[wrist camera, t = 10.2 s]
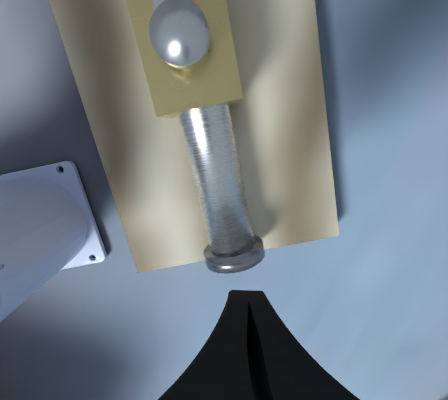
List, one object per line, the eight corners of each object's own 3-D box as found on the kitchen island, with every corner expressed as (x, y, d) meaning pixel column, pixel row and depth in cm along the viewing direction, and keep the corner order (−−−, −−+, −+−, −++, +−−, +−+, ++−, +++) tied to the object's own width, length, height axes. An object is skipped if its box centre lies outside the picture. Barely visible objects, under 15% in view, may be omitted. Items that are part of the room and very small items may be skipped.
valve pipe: (205, 249, 21) (198, 293, 15) (99, -184, 14) (22, -369, 9) (263, 238, 20) (276, 279, 15) (182, -208, 14) (154, -414, 9)
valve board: (143, 263, 22) (137, 272, 21) (13, -152, 15) (-10, -181, 14) (331, 228, 21) (339, 235, 20) (280, -230, 14) (286, -270, 13)
